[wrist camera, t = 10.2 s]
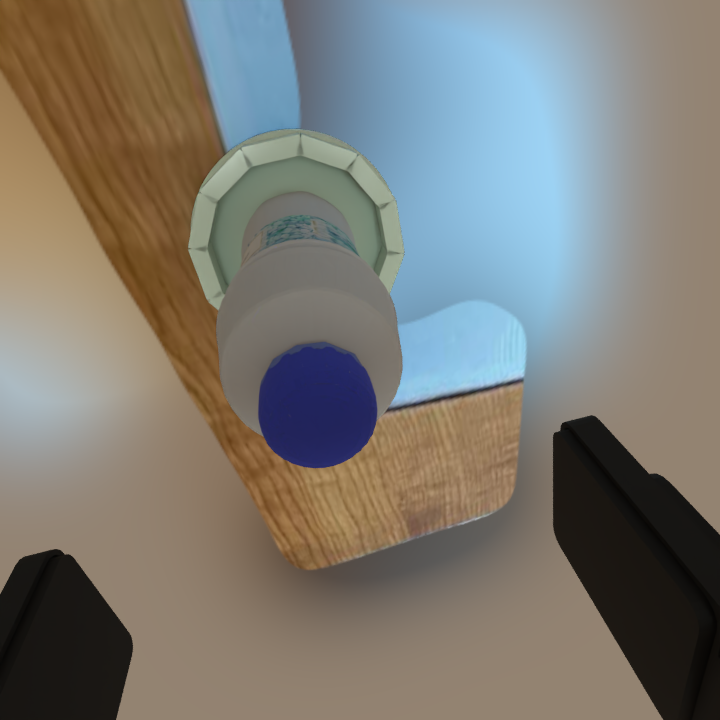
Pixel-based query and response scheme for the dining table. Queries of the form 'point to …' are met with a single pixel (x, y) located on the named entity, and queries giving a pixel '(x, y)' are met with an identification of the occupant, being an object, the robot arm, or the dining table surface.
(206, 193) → the dish
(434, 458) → the dining table surface
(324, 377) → the bottle
